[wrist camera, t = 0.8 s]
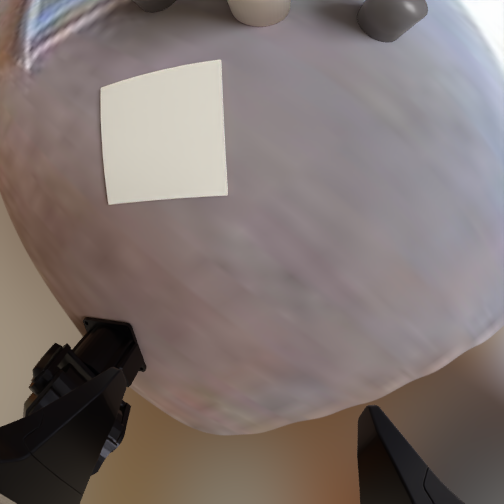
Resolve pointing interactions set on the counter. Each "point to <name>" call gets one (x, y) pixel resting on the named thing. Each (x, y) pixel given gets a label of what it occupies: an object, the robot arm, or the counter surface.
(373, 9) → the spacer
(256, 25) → the jar
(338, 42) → the counter surface
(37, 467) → the robot arm
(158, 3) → the spacer
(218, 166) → the mat
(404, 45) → the counter surface
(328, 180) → the counter surface
